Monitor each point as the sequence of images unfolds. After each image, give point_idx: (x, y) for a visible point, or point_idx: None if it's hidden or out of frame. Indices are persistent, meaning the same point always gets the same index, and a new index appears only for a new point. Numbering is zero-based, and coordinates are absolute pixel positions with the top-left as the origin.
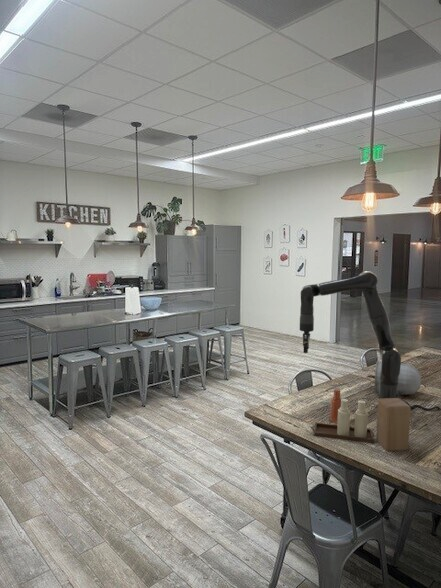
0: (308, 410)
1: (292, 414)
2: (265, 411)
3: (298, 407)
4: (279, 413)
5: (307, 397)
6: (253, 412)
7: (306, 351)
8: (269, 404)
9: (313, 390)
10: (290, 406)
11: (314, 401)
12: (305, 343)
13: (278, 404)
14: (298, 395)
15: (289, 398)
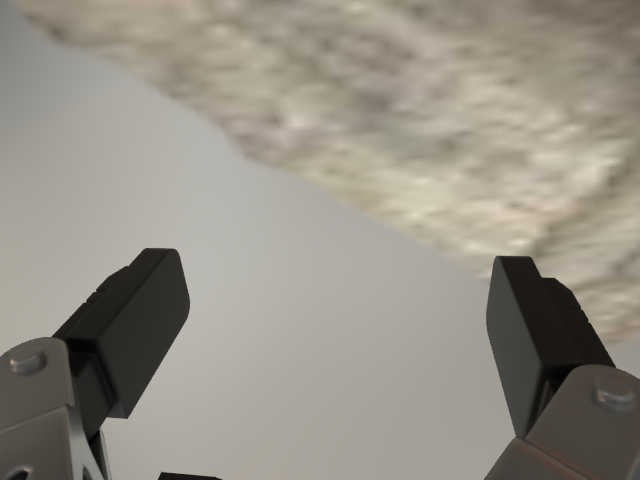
0: (545, 32)
1: (629, 134)
2: (592, 283)
3: (499, 109)
4: (617, 210)
5: (298, 66)
6: (612, 333)
7: (568, 296)
8: (482, 275)
9: (144, 36)
10: (491, 160)
11: (359, 5)
12: (131, 387)
13: (472, 230)
14: (283, 131)
15: (356, 180)
